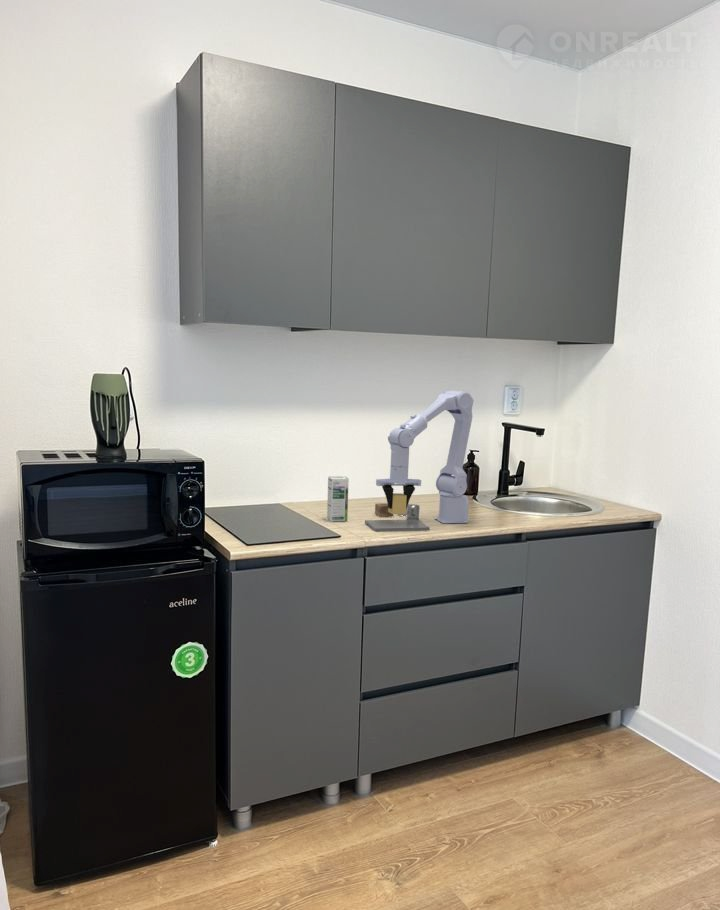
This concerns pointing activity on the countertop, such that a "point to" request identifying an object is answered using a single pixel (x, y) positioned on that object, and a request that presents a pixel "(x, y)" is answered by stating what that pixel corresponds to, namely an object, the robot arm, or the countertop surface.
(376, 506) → the walnut block
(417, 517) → the dark metal cylinder
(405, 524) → the slate board
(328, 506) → the syrup box
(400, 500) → the ochre block
